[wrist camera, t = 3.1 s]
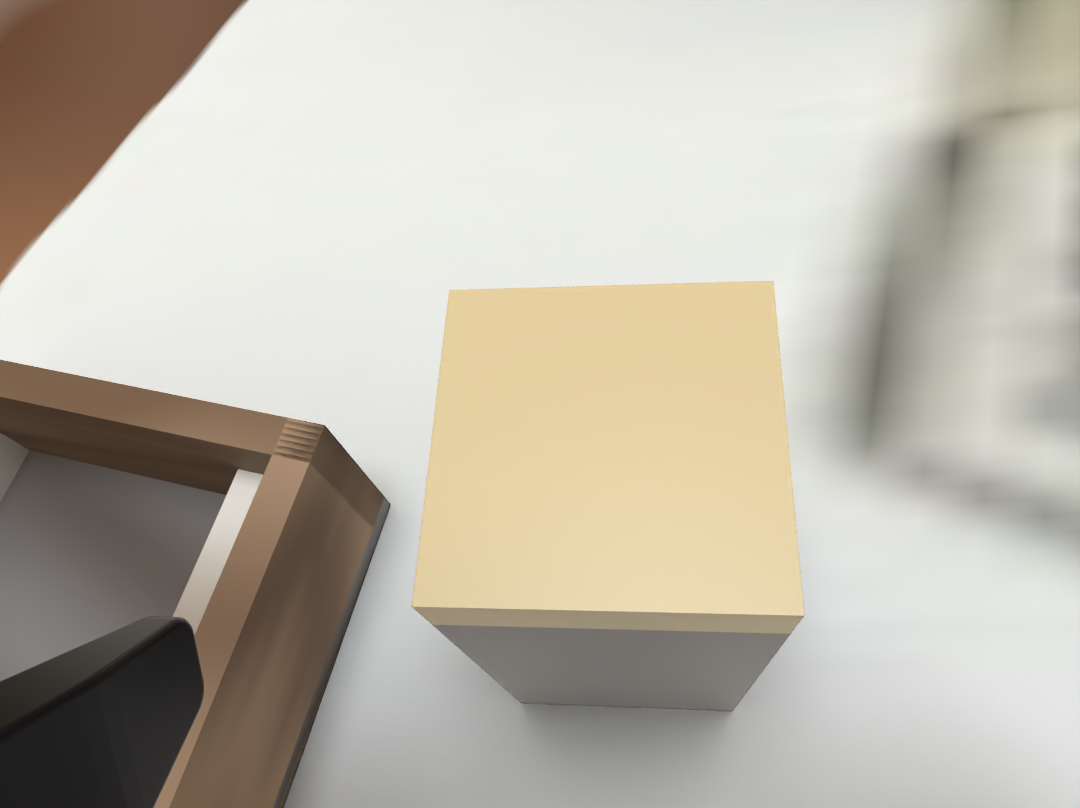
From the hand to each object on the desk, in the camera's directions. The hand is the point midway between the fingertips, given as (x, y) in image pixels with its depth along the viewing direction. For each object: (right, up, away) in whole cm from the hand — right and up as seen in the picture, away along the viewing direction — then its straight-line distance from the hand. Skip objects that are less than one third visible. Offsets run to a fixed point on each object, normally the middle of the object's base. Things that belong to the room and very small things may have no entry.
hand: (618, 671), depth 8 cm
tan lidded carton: (+1, -2, +10) cm, 10 cm away
